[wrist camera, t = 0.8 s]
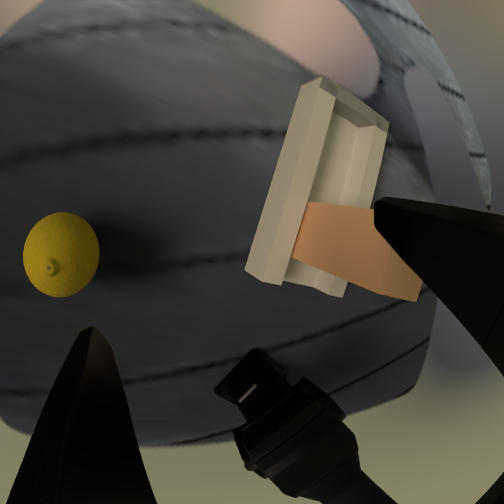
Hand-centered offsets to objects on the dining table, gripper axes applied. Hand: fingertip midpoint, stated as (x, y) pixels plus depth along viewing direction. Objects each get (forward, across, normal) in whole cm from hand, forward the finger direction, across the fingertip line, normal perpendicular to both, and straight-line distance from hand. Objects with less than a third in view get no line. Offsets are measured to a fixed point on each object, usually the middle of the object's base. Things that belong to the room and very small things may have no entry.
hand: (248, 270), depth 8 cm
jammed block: (+15, -10, +11) cm, 21 cm away
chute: (+17, -13, +8) cm, 23 cm away
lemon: (+16, +10, +3) cm, 19 cm away
